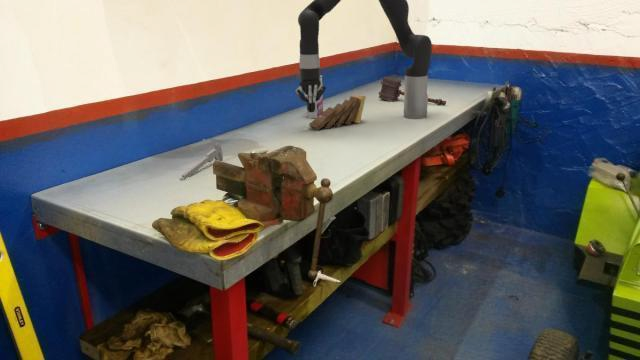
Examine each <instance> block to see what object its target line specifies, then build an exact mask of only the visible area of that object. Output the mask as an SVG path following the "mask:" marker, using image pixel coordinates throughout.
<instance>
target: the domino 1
mask: <svg viewBox="0 0 640 360" xmlns="http://www.w3.org/2000/svg"><path fill="white" fill-rule="evenodd" d="M337 114H338V111H337V110H336V109H334V107H331V106H329V107H327V108H326V109H325V110H323V113H322V114H320V115H319V116H318V117H317V118H314V119H312V121H311V122H310V123H309V124H308V126H309V127H310V128H311V129H313V130H315V129H316V130H315V131H319V130H320V129H322V128H323V127H324V125H325V124H326V123H327V122H328V121H330V120H331V119H332V118H333V117H334V116H335V115H337Z"/></svg>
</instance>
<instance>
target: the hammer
mask: <svg viewBox="0 0 640 360" xmlns="http://www.w3.org/2000/svg"><path fill="white" fill-rule="evenodd" d="M380 84H381V89H380V91H379V92H378V98H379V99H381V100H384V101H387V102H390V103H394V102H395V100H396V101H398V100H399V99H398V98H399V97H400V95H402V96H404V91H402V89H400V87H402V80H401V79H398V78H394V77H392V76H388V75H387V76H384V77H382V80H381V82H380ZM397 99H398V100H397ZM428 103H432V104H435V105H437V106H441V105H442V106H446V104H447V101H446V100H442V98H436V99H434V98H429V97H428Z"/></svg>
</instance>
